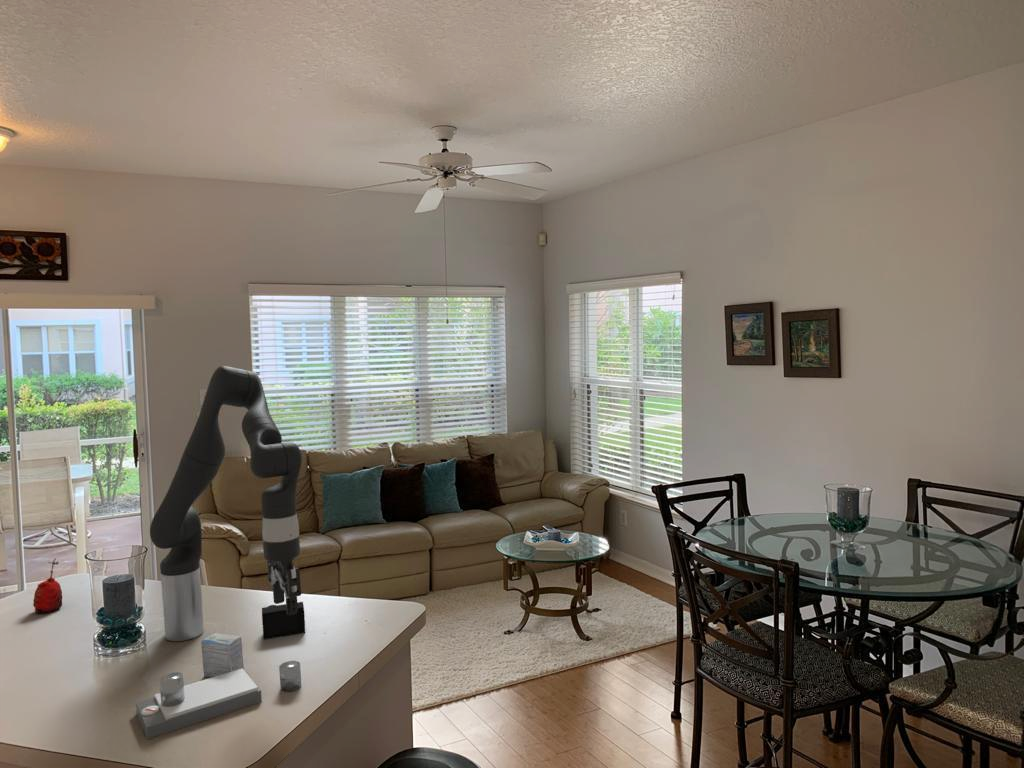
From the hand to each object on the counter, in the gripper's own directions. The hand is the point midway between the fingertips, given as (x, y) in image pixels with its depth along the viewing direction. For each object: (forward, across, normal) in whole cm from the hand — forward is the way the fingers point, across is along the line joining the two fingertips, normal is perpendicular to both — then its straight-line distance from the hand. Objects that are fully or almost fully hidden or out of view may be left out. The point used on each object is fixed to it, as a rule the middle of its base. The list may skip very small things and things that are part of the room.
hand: (285, 608), depth 157 cm
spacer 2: (+18, 0, 0) cm, 18 cm away
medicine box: (+18, +16, +10) cm, 26 cm away
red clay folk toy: (+18, +91, +39) cm, 101 cm away
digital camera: (+18, +30, -9) cm, 36 cm away
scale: (+18, +4, +18) cm, 26 cm away
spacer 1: (+15, +4, +23) cm, 28 cm away
